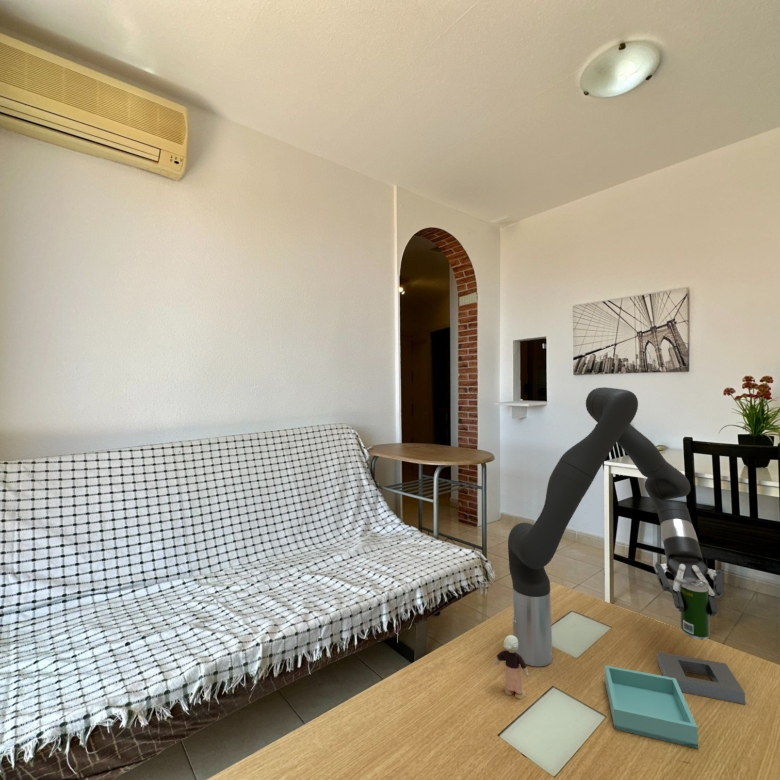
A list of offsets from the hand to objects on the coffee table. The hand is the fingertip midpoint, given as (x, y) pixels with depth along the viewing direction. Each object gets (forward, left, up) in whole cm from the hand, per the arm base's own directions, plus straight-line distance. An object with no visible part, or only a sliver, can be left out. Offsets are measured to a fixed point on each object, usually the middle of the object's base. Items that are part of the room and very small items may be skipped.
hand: (697, 612), depth 93 cm
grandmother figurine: (-40, -15, -17) cm, 46 cm away
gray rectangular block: (0, +2, -17) cm, 17 cm away
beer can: (0, +2, -6) cm, 6 cm away
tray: (-13, -12, -17) cm, 24 cm away
